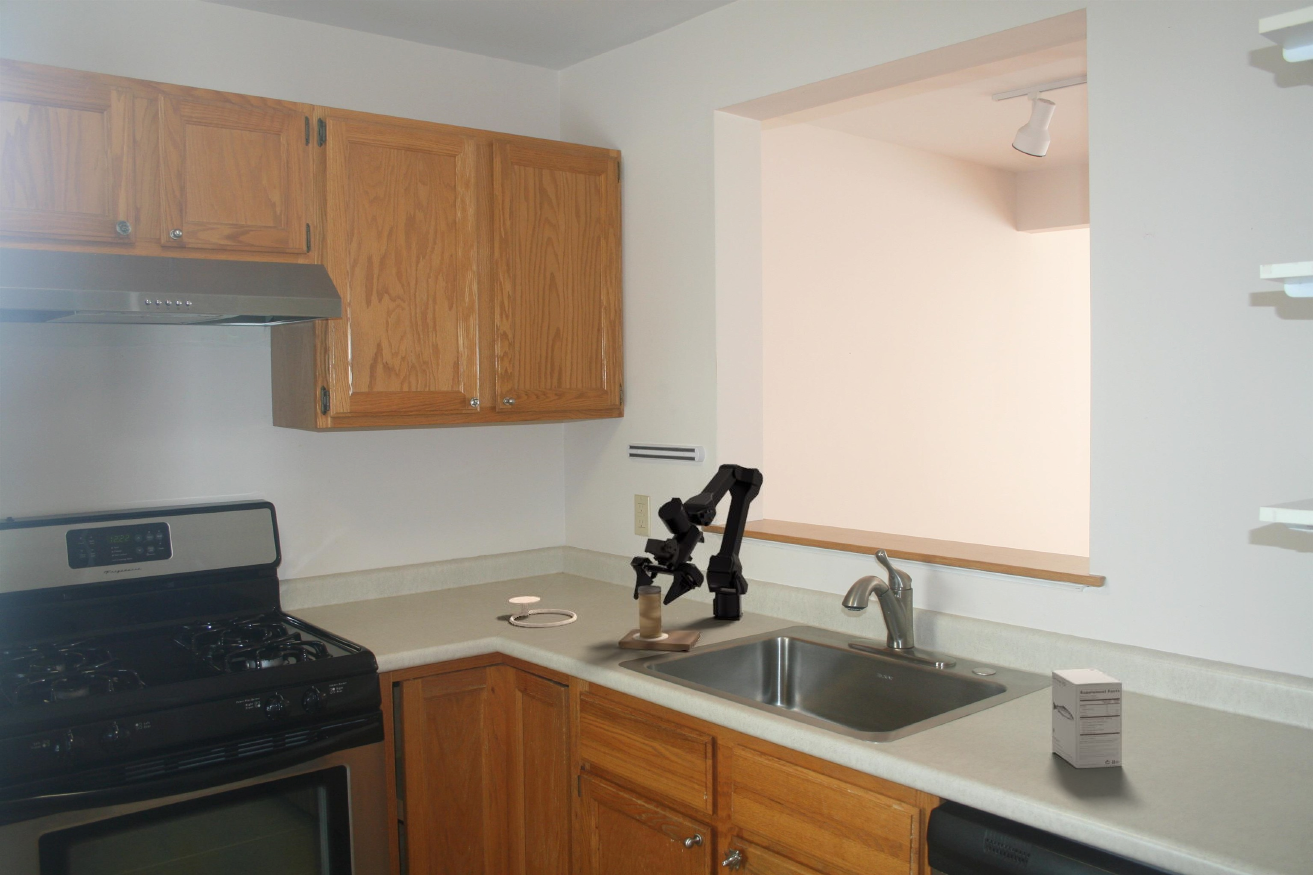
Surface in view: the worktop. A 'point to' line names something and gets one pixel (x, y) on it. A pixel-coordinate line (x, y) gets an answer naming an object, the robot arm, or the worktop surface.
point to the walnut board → (661, 640)
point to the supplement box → (1087, 718)
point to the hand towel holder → (531, 600)
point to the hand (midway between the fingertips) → (649, 601)
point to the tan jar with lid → (650, 611)
